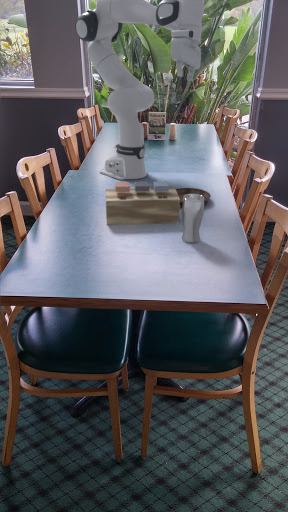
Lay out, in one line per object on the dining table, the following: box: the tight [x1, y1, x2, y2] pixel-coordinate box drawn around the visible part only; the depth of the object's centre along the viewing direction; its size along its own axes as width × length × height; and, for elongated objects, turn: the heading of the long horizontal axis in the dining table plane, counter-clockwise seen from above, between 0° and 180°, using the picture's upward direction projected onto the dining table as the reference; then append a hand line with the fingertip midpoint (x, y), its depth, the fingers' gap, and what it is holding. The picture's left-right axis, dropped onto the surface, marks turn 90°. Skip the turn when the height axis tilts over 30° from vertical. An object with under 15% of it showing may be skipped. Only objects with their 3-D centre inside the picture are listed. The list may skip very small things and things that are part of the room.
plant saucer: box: [175, 187, 212, 207], centre depth 184 cm, size 18×18×3 cm
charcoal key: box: [133, 181, 150, 192], centre depth 165 cm, size 5×5×2 cm
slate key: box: [152, 180, 170, 191], centre depth 166 cm, size 5×5×2 cm
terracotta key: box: [114, 181, 131, 192], centre depth 164 cm, size 5×5×2 cm
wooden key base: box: [105, 187, 181, 226], centre depth 167 cm, size 12×26×9 cm, turn 95°
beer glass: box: [181, 194, 205, 244], centre depth 150 cm, size 7×7×15 cm
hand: (184, 78), depth 166 cm, fingers open, 8 cm apart
